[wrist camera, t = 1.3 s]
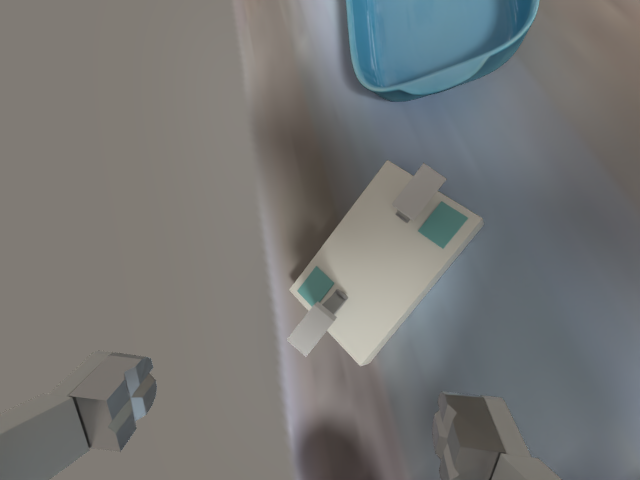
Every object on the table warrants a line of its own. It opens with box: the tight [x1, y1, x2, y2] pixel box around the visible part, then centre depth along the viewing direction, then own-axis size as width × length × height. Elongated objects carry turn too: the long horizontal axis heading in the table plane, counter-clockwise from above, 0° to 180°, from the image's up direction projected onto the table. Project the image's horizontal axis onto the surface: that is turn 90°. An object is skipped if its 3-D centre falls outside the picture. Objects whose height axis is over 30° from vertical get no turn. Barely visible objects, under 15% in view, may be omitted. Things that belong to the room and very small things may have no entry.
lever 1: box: [287, 289, 348, 357], centre depth 37 cm, size 2×4×12 cm, turn 137°
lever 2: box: [392, 163, 447, 223], centre depth 35 cm, size 2×4×12 cm, turn 138°
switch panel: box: [290, 160, 484, 366], centre depth 43 cm, size 14×22×3 cm, turn 138°
